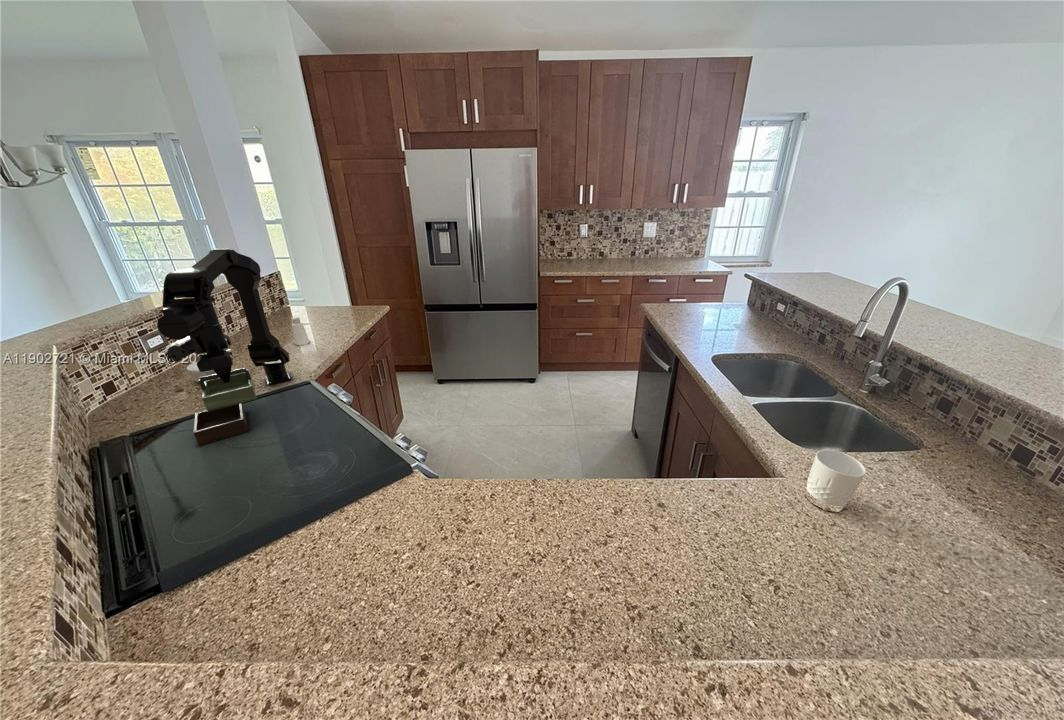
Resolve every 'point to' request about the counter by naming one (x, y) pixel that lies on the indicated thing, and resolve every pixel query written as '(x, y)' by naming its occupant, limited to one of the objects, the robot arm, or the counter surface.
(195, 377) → the ramekin
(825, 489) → the white cup
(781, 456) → the counter surface
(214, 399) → the top basket
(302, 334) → the pepper shaker
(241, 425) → the bottom basket
